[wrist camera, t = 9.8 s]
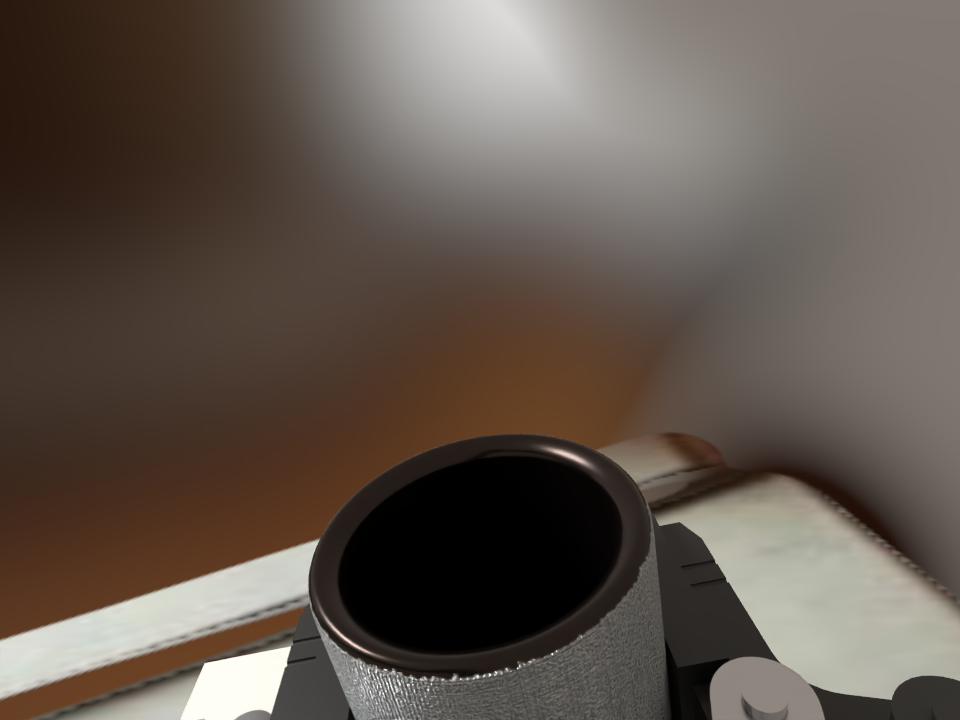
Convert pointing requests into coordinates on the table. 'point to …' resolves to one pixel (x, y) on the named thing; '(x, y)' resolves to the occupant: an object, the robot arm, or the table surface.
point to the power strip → (238, 687)
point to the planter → (495, 588)
